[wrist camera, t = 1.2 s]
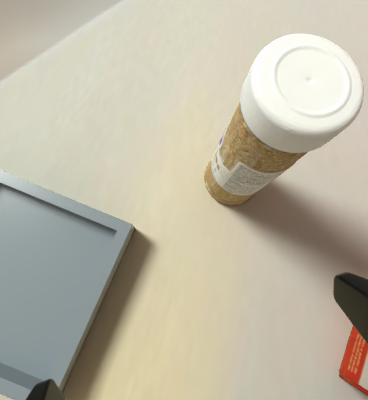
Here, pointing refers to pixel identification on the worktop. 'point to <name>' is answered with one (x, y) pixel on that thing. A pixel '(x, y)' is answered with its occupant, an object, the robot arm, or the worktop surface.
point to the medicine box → (355, 362)
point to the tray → (50, 281)
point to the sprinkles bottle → (284, 114)
